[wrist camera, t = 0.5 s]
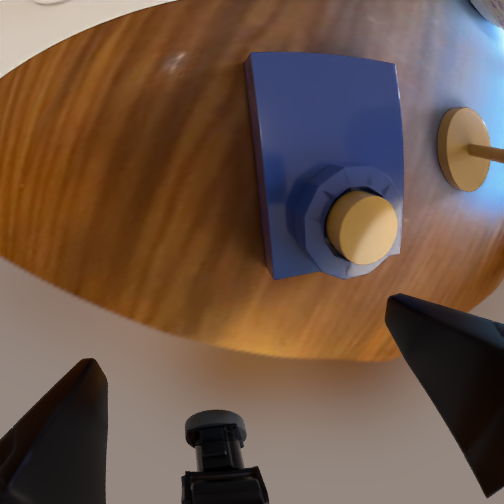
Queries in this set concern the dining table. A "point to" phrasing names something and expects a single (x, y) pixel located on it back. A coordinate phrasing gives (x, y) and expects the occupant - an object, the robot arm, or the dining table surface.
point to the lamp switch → (362, 227)
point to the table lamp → (465, 149)
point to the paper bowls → (491, 10)
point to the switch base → (321, 151)
